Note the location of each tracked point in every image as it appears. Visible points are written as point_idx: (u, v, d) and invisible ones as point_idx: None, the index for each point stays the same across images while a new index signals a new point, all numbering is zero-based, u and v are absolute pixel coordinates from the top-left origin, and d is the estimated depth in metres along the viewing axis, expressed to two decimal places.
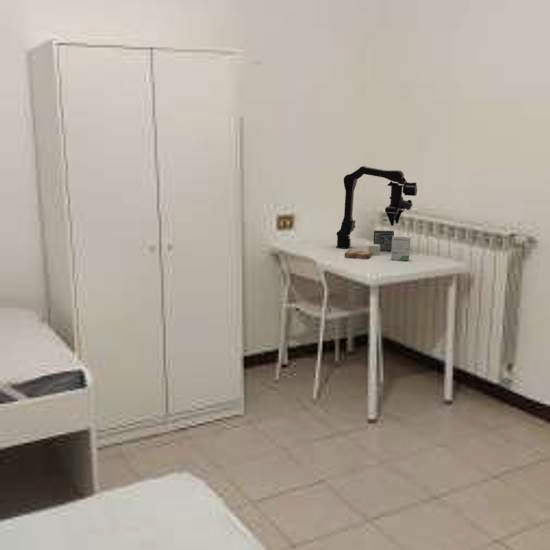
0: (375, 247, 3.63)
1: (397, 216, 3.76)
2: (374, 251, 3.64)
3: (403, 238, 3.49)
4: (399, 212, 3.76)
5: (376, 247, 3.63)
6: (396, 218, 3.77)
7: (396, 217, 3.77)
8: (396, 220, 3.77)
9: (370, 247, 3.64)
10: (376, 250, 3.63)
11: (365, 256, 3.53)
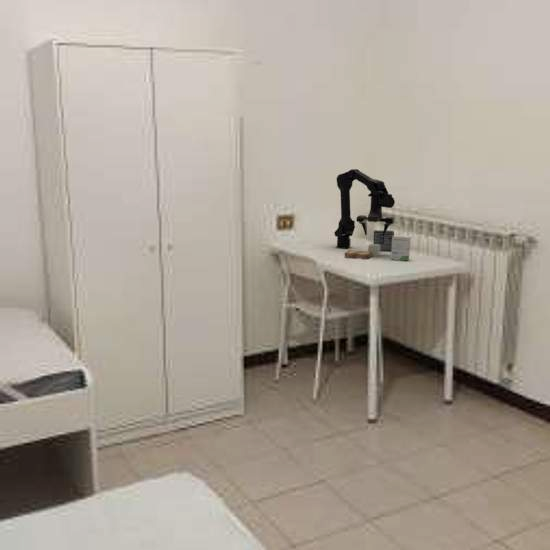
0: (375, 247, 3.63)
1: (384, 229, 3.62)
2: (374, 251, 3.64)
3: (403, 238, 3.49)
4: None
5: (376, 247, 3.63)
6: None
7: None
8: None
9: (370, 247, 3.64)
10: (376, 250, 3.63)
11: (365, 256, 3.53)
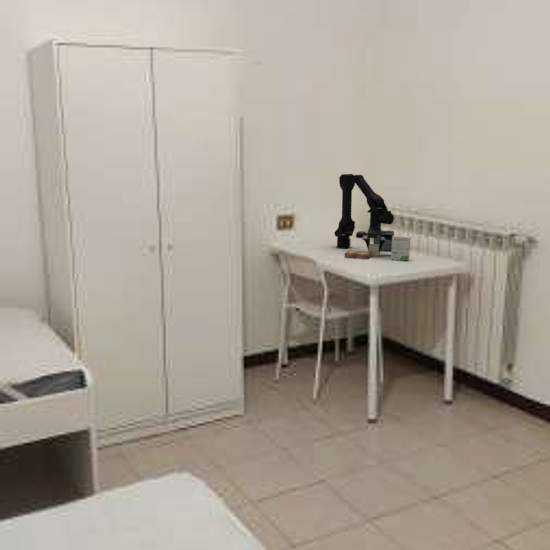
0: (375, 247, 3.63)
1: (379, 245, 3.65)
2: (374, 251, 3.64)
3: (403, 238, 3.49)
4: (380, 241, 3.63)
5: (376, 247, 3.63)
6: None
7: None
8: (379, 249, 3.65)
9: (370, 247, 3.64)
10: (376, 250, 3.63)
11: (365, 256, 3.53)
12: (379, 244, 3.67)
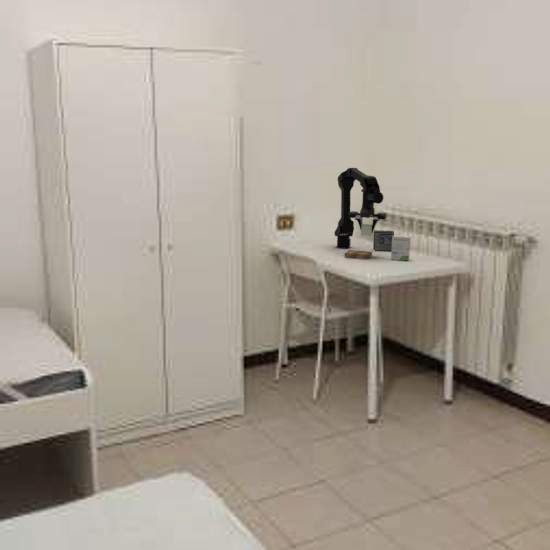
0: (368, 227, 3.57)
1: None
2: (367, 231, 3.57)
3: (403, 238, 3.49)
4: (373, 221, 3.57)
5: (369, 227, 3.56)
6: (372, 227, 3.59)
7: None
8: (372, 229, 3.59)
9: (363, 227, 3.57)
10: (369, 230, 3.57)
11: (365, 256, 3.53)
12: None
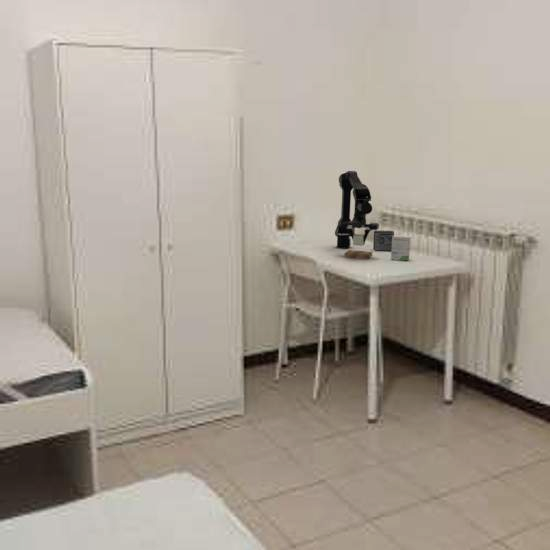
0: (360, 237, 3.54)
1: None
2: (359, 241, 3.55)
3: (403, 238, 3.49)
4: None
5: (361, 237, 3.54)
6: None
7: None
8: (364, 239, 3.57)
9: (355, 237, 3.55)
10: (361, 240, 3.55)
11: (365, 256, 3.53)
12: None
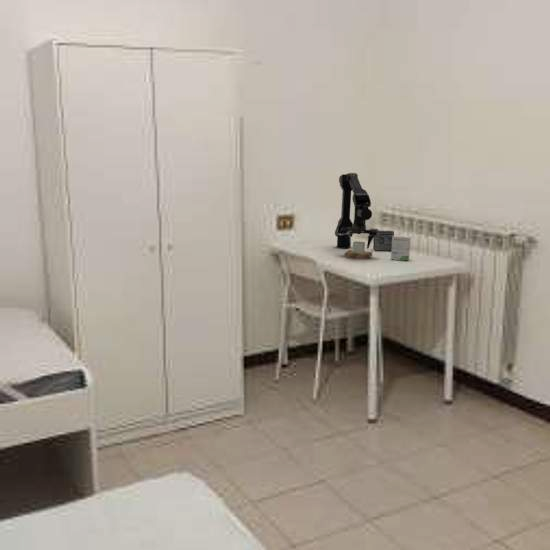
0: (359, 244, 3.55)
1: (368, 241, 3.56)
2: (358, 248, 3.56)
3: (403, 238, 3.49)
4: None
5: (360, 244, 3.55)
6: None
7: None
8: None
9: (354, 244, 3.56)
10: (360, 247, 3.55)
11: (365, 256, 3.53)
12: (364, 242, 3.59)
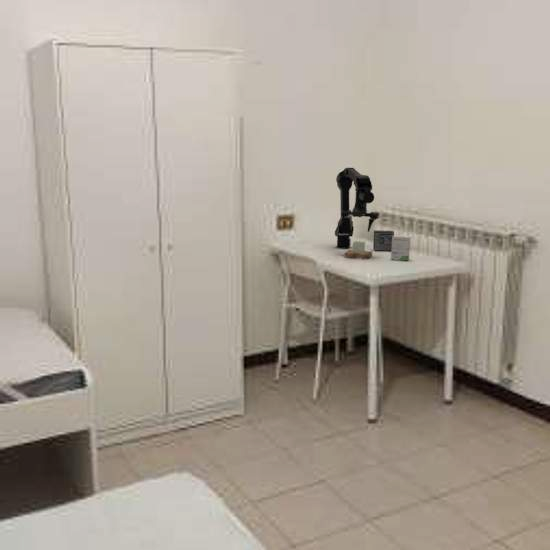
0: (359, 244, 3.55)
1: None
2: (358, 248, 3.56)
3: (403, 238, 3.49)
4: None
5: (360, 244, 3.55)
6: None
7: None
8: (368, 228, 3.60)
9: (354, 244, 3.56)
10: (360, 247, 3.55)
11: (365, 256, 3.53)
12: (364, 242, 3.59)
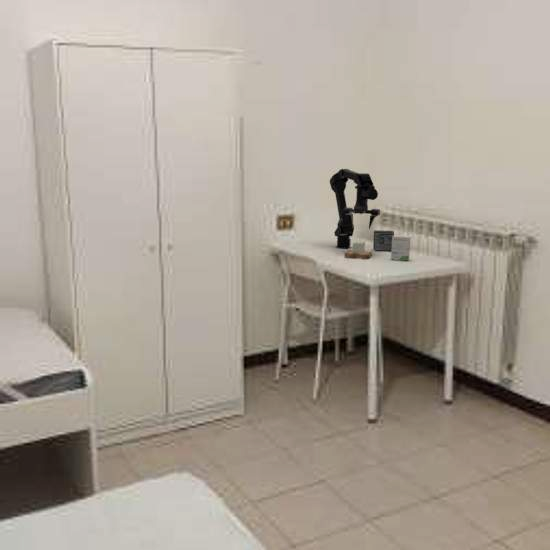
0: (359, 244, 3.55)
1: (370, 221, 3.66)
2: (358, 248, 3.56)
3: (403, 238, 3.49)
4: (370, 217, 3.65)
5: (360, 244, 3.55)
6: None
7: None
8: None
9: (354, 244, 3.56)
10: (360, 247, 3.55)
11: (365, 256, 3.53)
12: (364, 242, 3.59)
